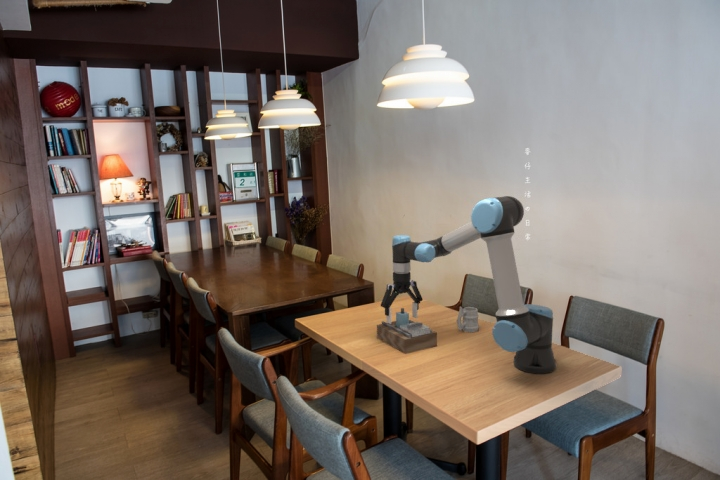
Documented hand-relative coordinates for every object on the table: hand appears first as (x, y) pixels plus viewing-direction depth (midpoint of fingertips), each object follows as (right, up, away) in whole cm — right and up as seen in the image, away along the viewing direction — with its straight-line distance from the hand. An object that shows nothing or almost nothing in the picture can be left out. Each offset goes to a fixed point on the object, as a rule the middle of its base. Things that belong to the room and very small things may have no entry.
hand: (402, 320), depth 226 cm
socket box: (+2, -9, -1) cm, 9 cm away
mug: (+30, -7, +11) cm, 33 cm away
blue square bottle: (0, -9, +1) cm, 9 cm away
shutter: (+5, -4, -8) cm, 10 cm away
